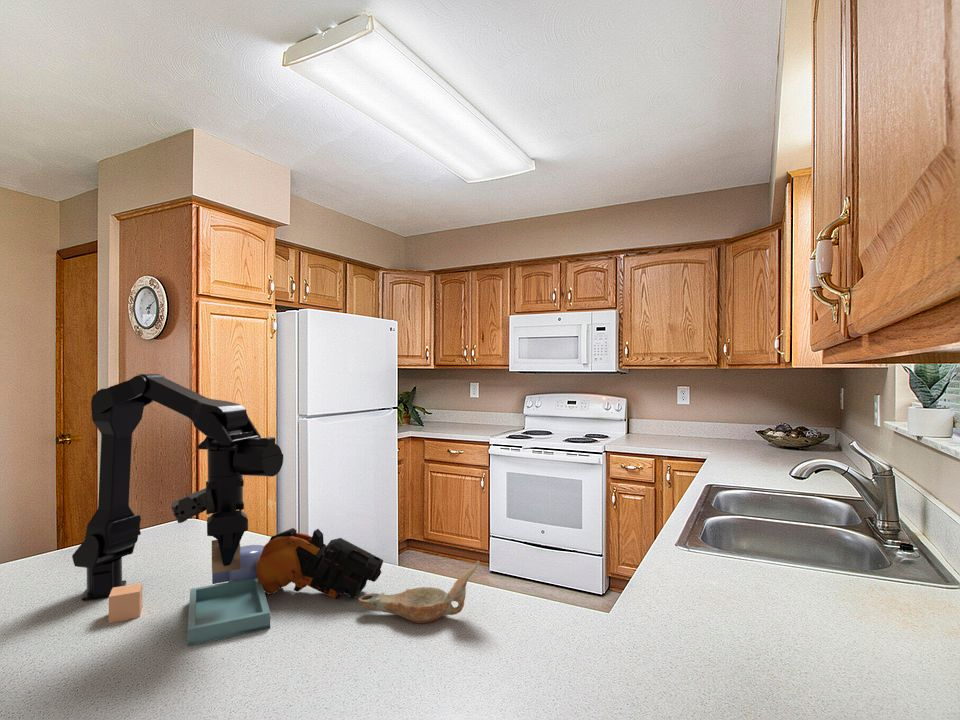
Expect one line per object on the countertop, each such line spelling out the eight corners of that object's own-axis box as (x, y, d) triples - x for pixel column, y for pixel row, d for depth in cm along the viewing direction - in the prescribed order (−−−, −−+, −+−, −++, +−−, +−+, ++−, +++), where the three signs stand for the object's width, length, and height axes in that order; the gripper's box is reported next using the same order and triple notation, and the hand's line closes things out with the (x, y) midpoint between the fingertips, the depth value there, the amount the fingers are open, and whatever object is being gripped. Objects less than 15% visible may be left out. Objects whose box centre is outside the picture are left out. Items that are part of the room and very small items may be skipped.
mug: (212, 586, 108) (211, 550, 109) (265, 576, 113) (264, 542, 113) (212, 599, 102) (212, 561, 102) (268, 588, 107) (268, 552, 107)
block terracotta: (112, 613, 97) (112, 587, 97) (142, 607, 99) (142, 582, 100) (108, 623, 93) (108, 596, 93) (139, 617, 95) (139, 591, 96)
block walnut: (238, 561, 101) (238, 536, 101) (240, 568, 97) (240, 543, 97) (211, 565, 99) (211, 540, 99) (212, 573, 95) (211, 547, 95)
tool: (347, 644, 99) (376, 568, 97) (240, 589, 102) (267, 515, 101) (364, 623, 107) (391, 552, 105) (265, 572, 110) (290, 504, 109)
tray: (190, 602, 101) (190, 588, 101) (260, 589, 106) (260, 576, 106) (187, 646, 85) (187, 629, 85) (270, 628, 90) (270, 612, 90)
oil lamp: (476, 632, 88) (475, 569, 88) (349, 625, 91) (348, 564, 91) (484, 609, 96) (483, 551, 96) (368, 603, 99) (367, 548, 100)
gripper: (176, 470, 103) (177, 553, 103) (171, 489, 87) (172, 588, 86) (240, 464, 108) (241, 543, 108) (247, 481, 92) (248, 575, 91)
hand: (226, 561), depth 98 cm, fingers closed on block walnut, 4 cm apart
